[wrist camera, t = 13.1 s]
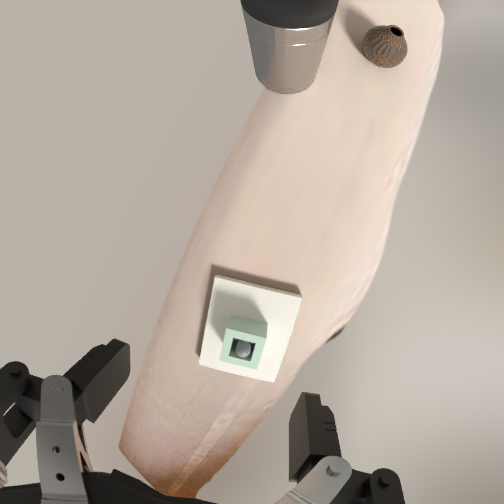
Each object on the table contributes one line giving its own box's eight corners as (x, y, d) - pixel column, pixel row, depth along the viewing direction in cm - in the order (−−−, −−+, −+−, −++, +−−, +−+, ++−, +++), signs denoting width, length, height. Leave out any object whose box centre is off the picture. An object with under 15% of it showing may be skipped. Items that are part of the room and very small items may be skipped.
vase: (363, 71, 32) (381, 46, 24) (353, 38, 31) (367, 10, 22) (401, 75, 31) (423, 53, 23) (390, 43, 30) (408, 18, 22)
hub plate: (216, 274, 40) (205, 289, 34) (301, 294, 40) (306, 313, 33) (201, 359, 44) (189, 383, 37) (274, 377, 43) (273, 403, 36)
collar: (231, 314, 40) (226, 328, 35) (267, 323, 40) (266, 338, 35) (224, 345, 41) (218, 360, 37) (258, 353, 41) (256, 369, 36)
